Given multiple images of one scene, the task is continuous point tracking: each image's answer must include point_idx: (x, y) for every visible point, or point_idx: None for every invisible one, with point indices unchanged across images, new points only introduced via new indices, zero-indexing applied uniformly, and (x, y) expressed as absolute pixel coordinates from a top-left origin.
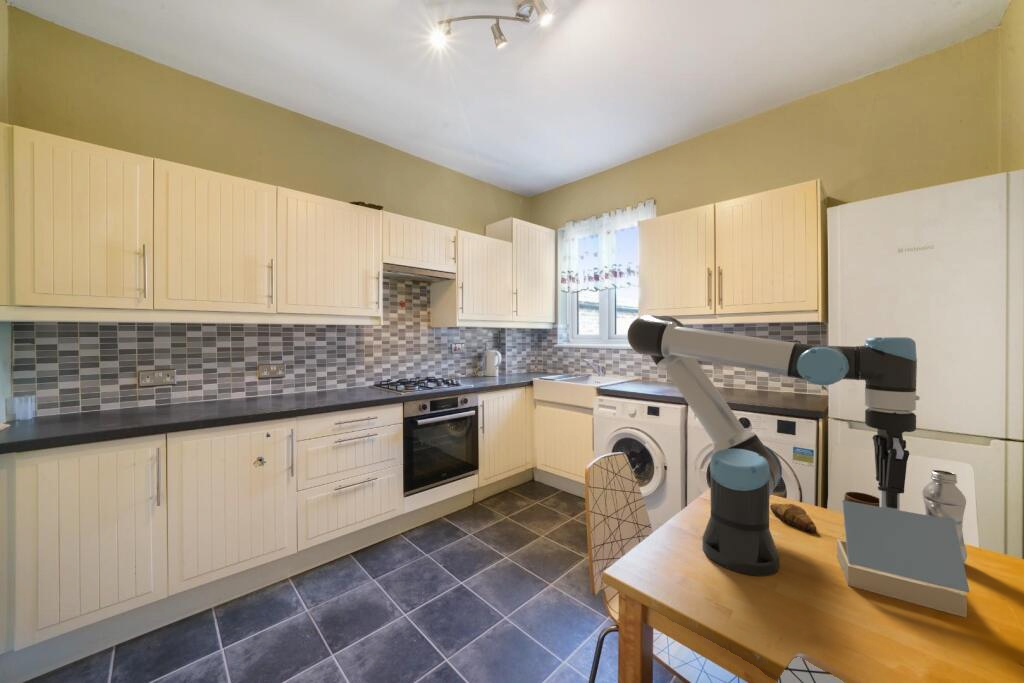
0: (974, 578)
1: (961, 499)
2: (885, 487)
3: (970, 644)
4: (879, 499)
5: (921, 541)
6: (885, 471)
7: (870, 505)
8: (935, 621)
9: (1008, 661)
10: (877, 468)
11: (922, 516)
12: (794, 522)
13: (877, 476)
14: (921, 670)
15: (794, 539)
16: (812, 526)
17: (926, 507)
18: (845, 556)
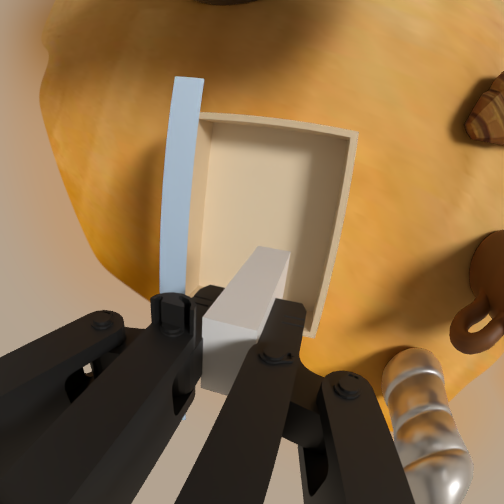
0: None
1: None
2: (99, 318)
3: (127, 248)
4: (275, 289)
5: None
6: (64, 422)
7: (162, 198)
8: (159, 229)
9: (117, 273)
10: (342, 471)
11: None
12: (486, 93)
13: (333, 401)
14: (60, 163)
15: (404, 63)
16: (473, 126)
17: (440, 429)
18: (241, 117)
